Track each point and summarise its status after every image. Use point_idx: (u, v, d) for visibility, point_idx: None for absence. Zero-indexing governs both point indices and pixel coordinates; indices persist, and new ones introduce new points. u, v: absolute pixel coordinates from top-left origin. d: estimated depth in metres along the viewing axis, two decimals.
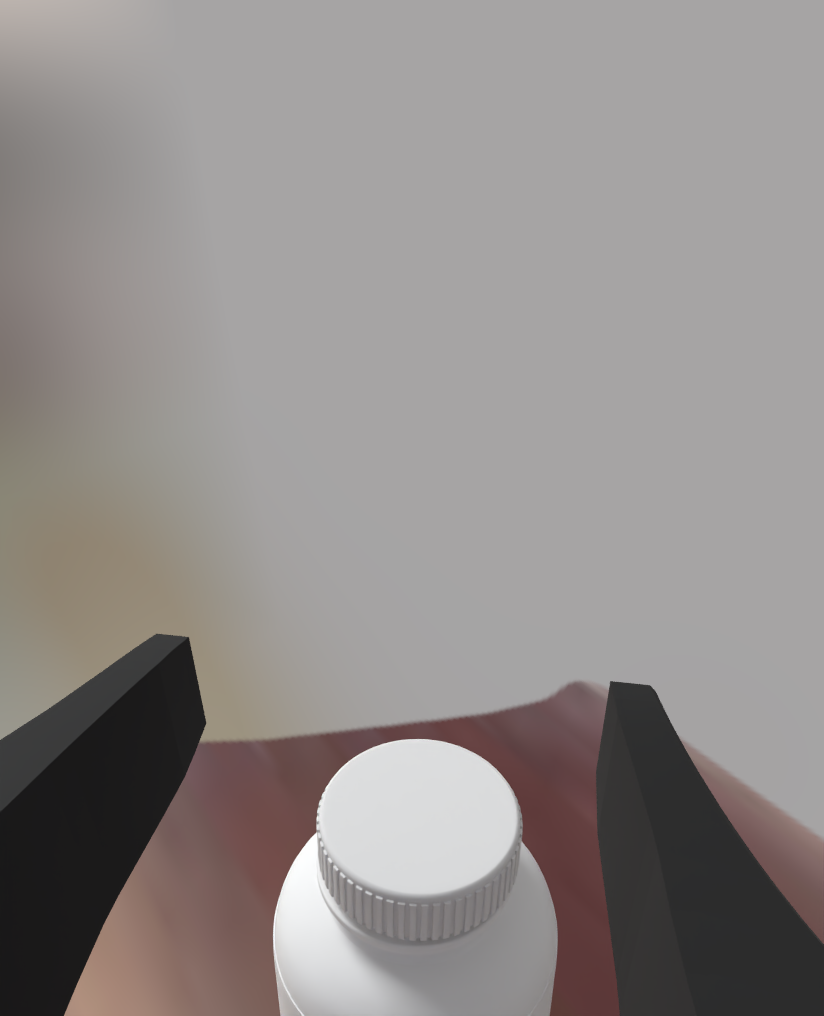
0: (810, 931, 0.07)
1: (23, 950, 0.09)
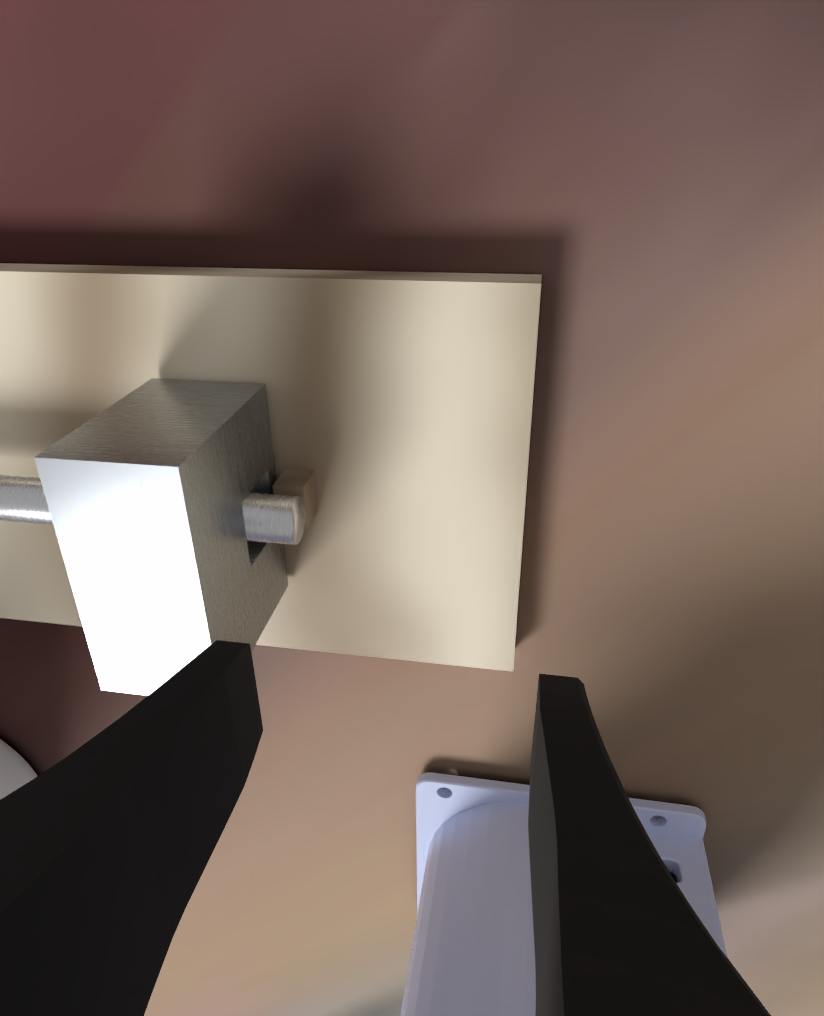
0: (692, 913, 0.07)
1: (105, 965, 0.09)
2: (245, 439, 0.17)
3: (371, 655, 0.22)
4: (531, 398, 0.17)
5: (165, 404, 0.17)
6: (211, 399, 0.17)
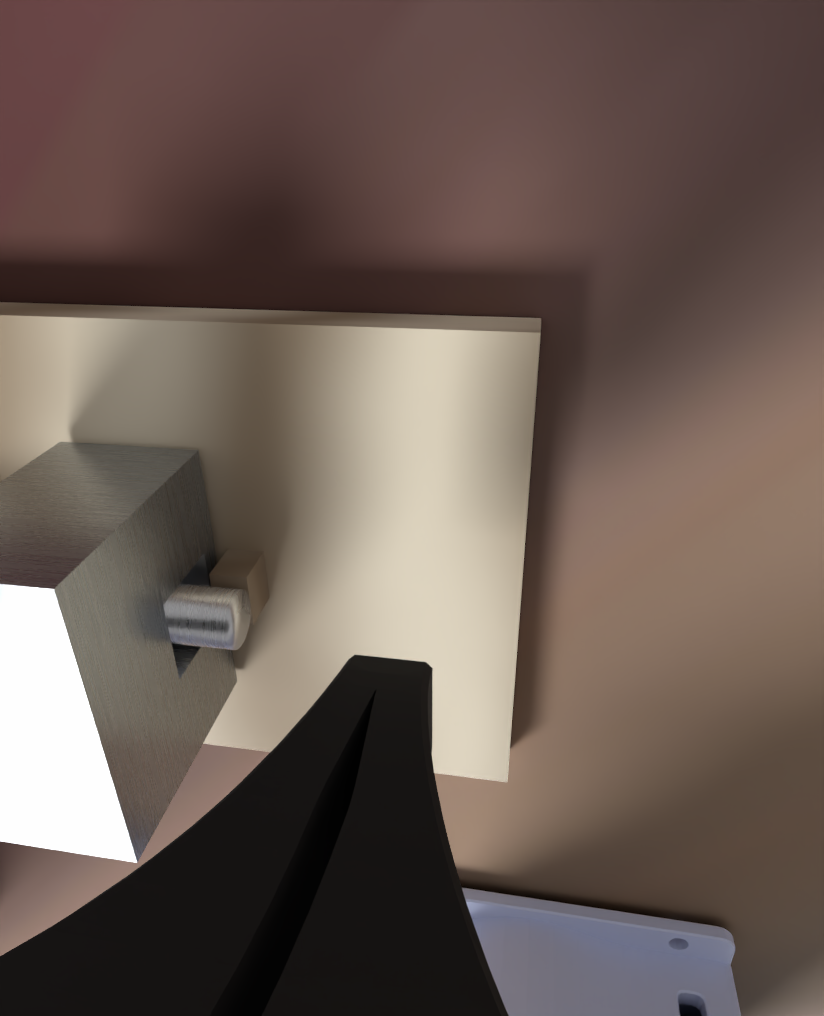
0: (452, 877, 0.08)
1: None
2: (167, 525, 0.13)
3: None
4: (528, 472, 0.14)
5: (65, 482, 0.13)
6: (125, 474, 0.13)
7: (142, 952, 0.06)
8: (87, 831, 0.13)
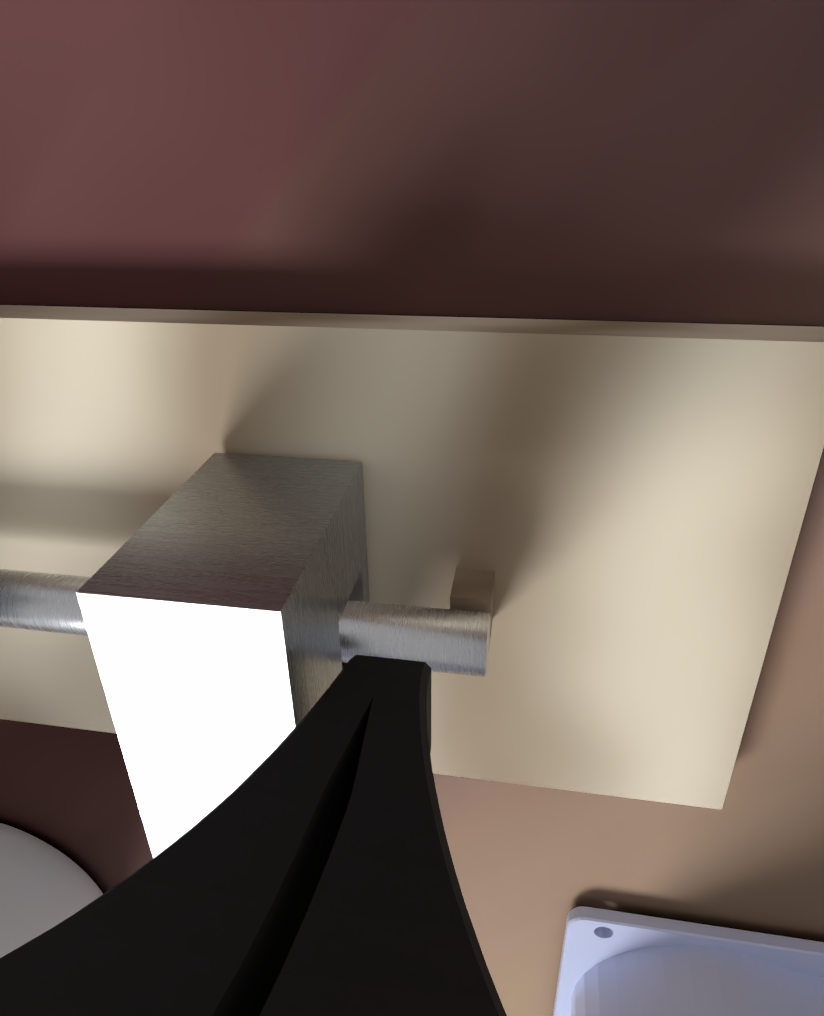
0: (450, 877, 0.08)
1: None
2: (343, 540, 0.13)
3: (537, 784, 0.17)
4: (809, 489, 0.13)
5: (240, 496, 0.13)
6: (298, 488, 0.13)
7: (144, 954, 0.06)
8: None
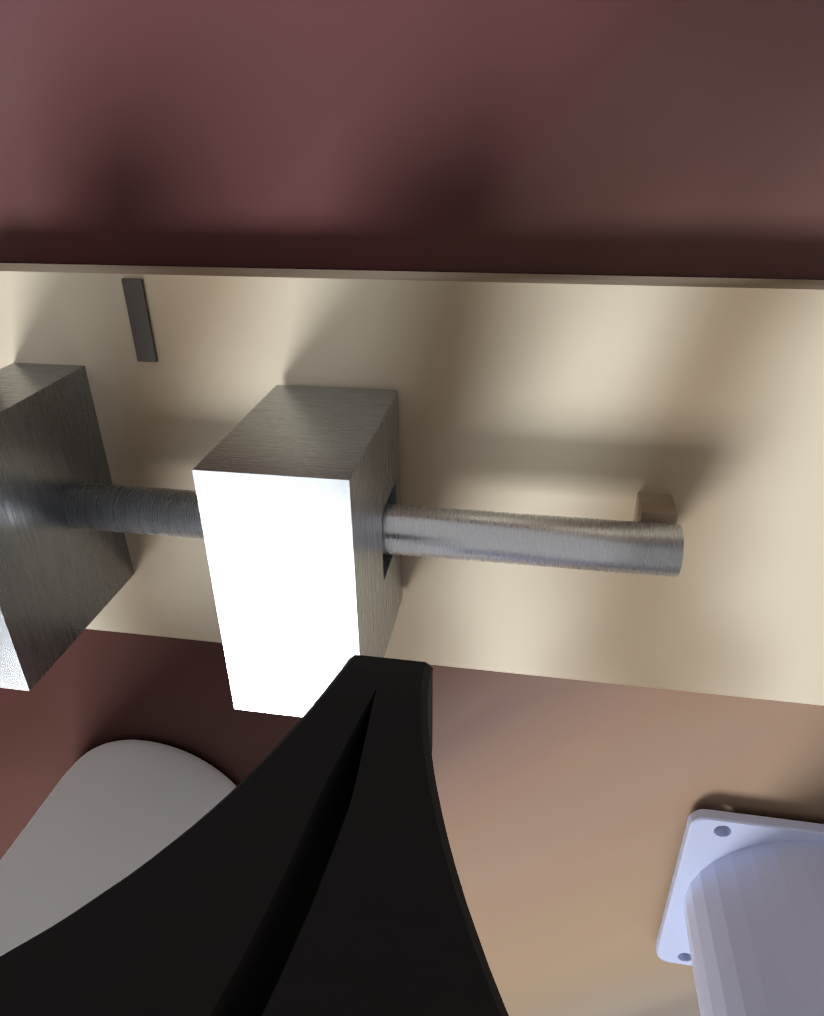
0: (452, 877, 0.08)
1: None
2: (385, 448, 0.16)
3: (682, 689, 0.20)
4: None
5: (304, 412, 0.16)
6: (349, 407, 0.16)
7: (142, 952, 0.06)
8: None
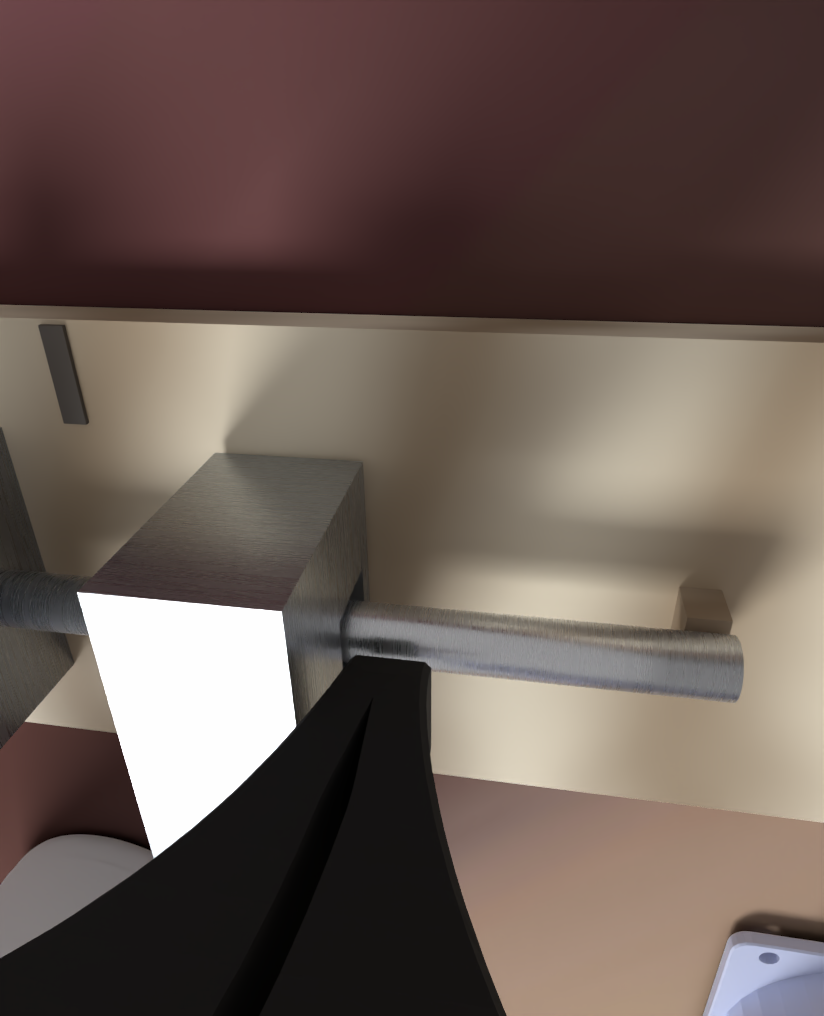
0: (450, 877, 0.08)
1: None
2: (344, 540, 0.13)
3: (728, 809, 0.17)
4: None
5: (240, 496, 0.13)
6: (299, 487, 0.13)
7: (144, 952, 0.06)
8: None
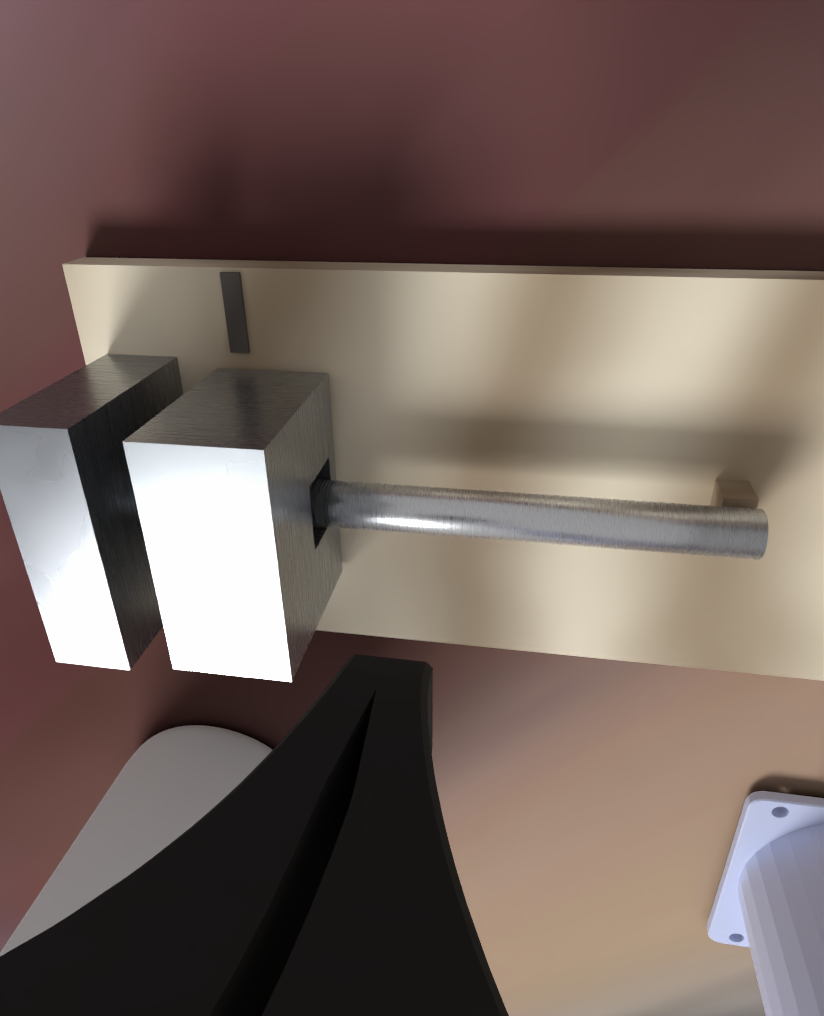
0: (452, 877, 0.08)
1: None
2: (313, 426, 0.17)
3: (749, 672, 0.21)
4: None
5: (236, 392, 0.17)
6: (279, 387, 0.17)
7: (142, 954, 0.06)
8: (255, 656, 0.17)
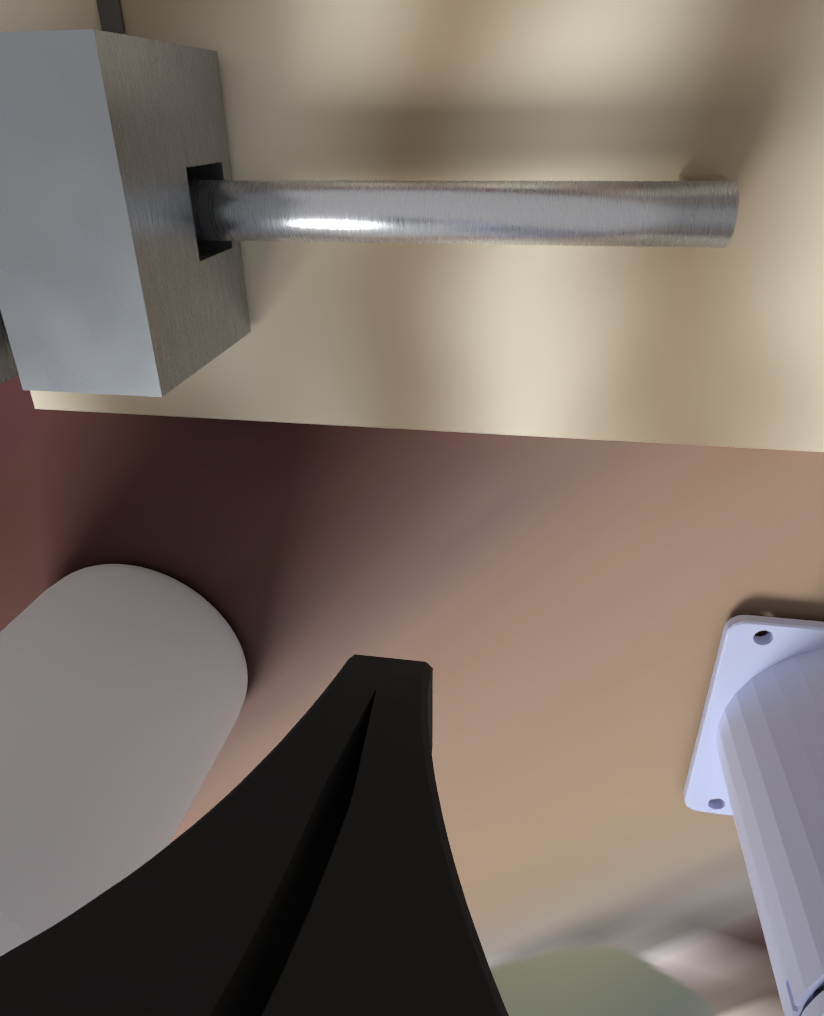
0: (452, 877, 0.08)
1: None
2: (190, 93, 0.14)
3: (724, 446, 0.18)
4: None
5: None
6: None
7: (142, 952, 0.06)
8: (116, 361, 0.14)
